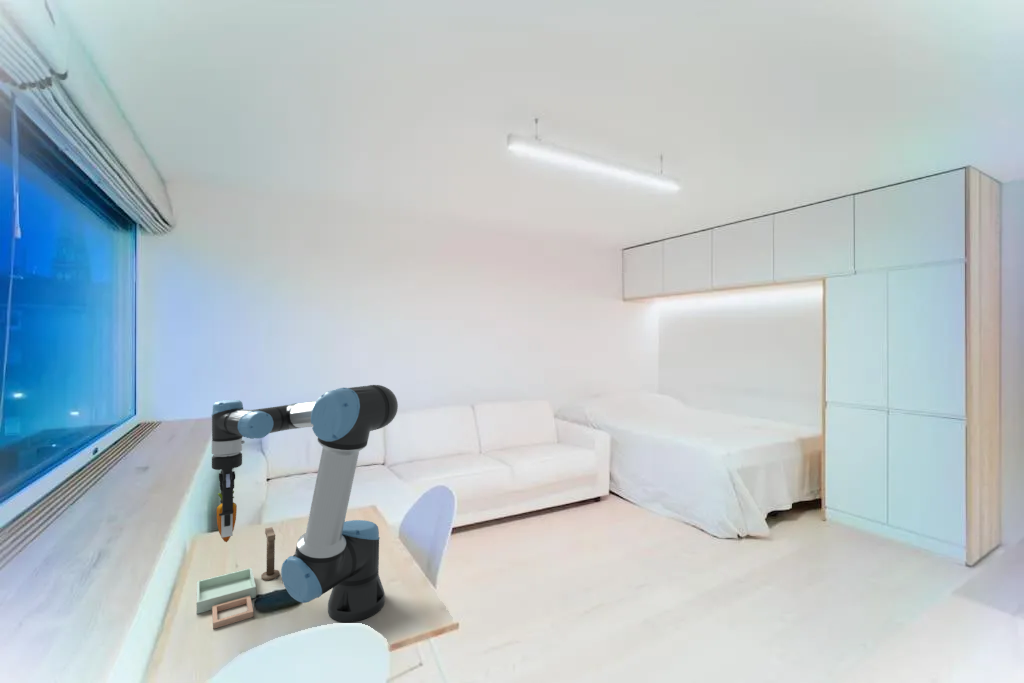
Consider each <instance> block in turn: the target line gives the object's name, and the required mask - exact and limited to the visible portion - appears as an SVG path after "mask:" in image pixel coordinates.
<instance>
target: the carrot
mask: <svg viewBox="0 0 1024 683" xmlns="http://www.w3.org/2000/svg"><path fill="white" fill-rule="evenodd" d="M234 493H235V491H234V490H233V494H234ZM217 496H218V497H219V499H220V500H222V494H221V492H219V493H217ZM233 499H235V496H233ZM237 509H238V508H237V503H235V502H234V503H233V531H234V530H235V526H236V521H237ZM221 513H222V504H221V503H220V504H219V505H218V506H217V507H216V524H217V525H216V526H217V528H218V529H217V530H218V533H219V535H220V536H221V516H219V514H221ZM231 537H232V536H228V537H224V538H221V539H222V540H223V542H225V543H227V542H228V541H230V539H231Z"/></svg>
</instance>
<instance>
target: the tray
mask: <svg viewBox="0 0 1024 683" xmlns="http://www.w3.org/2000/svg"><path fill="white" fill-rule="evenodd" d="M253 572H254V571H253V568H252V567H249V568H245V569H240V570H237V571H233V572H228V573H225V574H221V575H217V576H212V577H209V578H204V579H202V580H197V581H196V615H199V614H202V613H205V612H208V611H212V606H214V605H218V604H221V603H225V602H228V601H232V600H236V599H239V598H243V597H246V596H250V597H251V599H254V598H255V599H256V598H257V594H256V593H257V591H256V589H257V585H256V581H255V577H254V573H253Z"/></svg>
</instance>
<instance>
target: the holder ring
mask: <svg viewBox="0 0 1024 683" xmlns="http://www.w3.org/2000/svg"><path fill="white" fill-rule="evenodd" d="M242 605H246V609H247V611H243V612H240V613H236V614H233V615H230V616H226V617H223V618H219V619H218V612H221V611H225V610H228V609H232V608H235V607H239V606H242ZM211 612H212V615H211V617H212V629H213V630H215V629H218V628H221V627H224V626H229V625H231V624H234V623H237V622H241V621H244V620H248V619H250V618H253V617H254V608H253V604H252V598H251V597H250V596H246V597H243V598H239V599H236V600H232V601H228V602H225V603H221V604H218V605H214V606H212V610H211Z"/></svg>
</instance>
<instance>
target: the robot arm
mask: <svg viewBox="0 0 1024 683" xmlns="http://www.w3.org/2000/svg"><path fill="white" fill-rule="evenodd" d="M398 405H399V404H398V400H397V397H396V395H395V394H394V392H393V391H392V390H391V389H390V388H388V387H387V386H385V385H384V386H383V385H382V384H381V385H380V384H370V385H369V384H368V385H363V386H353V387H352V386H351V387H340V388H339V387H338V388H335V389H332V390H328V391H326V392H324V393H323V394H322V395H320V396H319V397H318V398H317V399H316V400H313V401H307V402H300V403H297V402H296V403H291V404H285V405H284V404H283V405H279V406H273V407H272V406H270V407H264V408H263V407H262V408H257V409H244V406H243V401H242V400H240V399H237V400H236V399H225V400H219V401H216V402H214V403H213V405H212V412H211V437H212V438H211V454H212V456H211V468H212V469H213V470H216V471H220V472H219V473H218V482H219V487H220V488H219V489H220V493H221V494H222V500H221V499H220V500H219V501H220V504H222V513H221V514H219V516H221V535H220V537H221V539H222V538H224V537H228V536H231V537H232V536H233V532H234V530H233V503H235V502H234V498H233V497H234V493H233V491H234V489H235V479H236V471H233V470H234V469H235V468H236V469H237V468H239V467H241V466H242V465H243V453H242V450H243V444H245V440H243V438H246V439H263V438H265V437H267V436H268V435H269V434H273V433H278V432H283V431H288V430H296V429H302V428H311V427H312V431H313V433H314V435H315V436H316V437H317V442H318V444H319V445H320V446H321V447H322V449H321V454H320V458H319V465H318V469H317V474H316V480H315V484H314V490H313V495H312V500H311V506H310V509H309V510H310V511H309V516H308V521H307V525H306V531H305V533H304V534H302V535H301V536H300V537H299V538H298V540H297V542H296V547H295V552H294V554H293V555H290V556H289V557H287V559H285V560H284V561H283V563H282V565H281V570H280V575H281V580H282V584H283V586H284V587H285V589H286V591H287V593H288V595H289V596H290V597H291V598H293V599H294V600H295V601H297V602H298V603H304V604H305V603H309V602H311V601H314V600H315V599H317V598H320V597H321V596H322V595H325V593H327V592H329V591H330V590H331V592H330V595H329V599H328V601H327V602H328V603H327V614H328V615H329V617H330V618H332V619H333V620H334V621H338V622H342V623H349V622H350V623H351V622H359V621H362V620H366V619H369V618H370V617H372V616H374V615H376V614H377V613H378V612H379V611H381V610H382V609H383V607H384V605H385V602H386V601H385V600H386V599H385V598H386V596H385V590H384V587H383V584H382V580H381V578H380V575H379V574H380V573H379V568H380V567H379V564H380V562H379V561H380V560H379V558H380V538H381V537H380V533H379V532H380V531H379V526H378V524H376V523H375V522H373V521H369V520H361V519H353V520H346V516H347V512H348V507H349V503H350V496H351V493H352V487H353V483H354V477H355V473H356V469H357V468H356V467H357V464H358V459H359V454H360V452H361V450H364V449H365V448H366V447H367V446H368V441H369V437H370V433H371V432H373V431H377V430H379V429H383V428H385V427H387V426H388V425H390V423H392V422H393V420H394V419H395V417H396V416H397V413H398V407H399V406H398ZM345 520H346V521H345Z"/></svg>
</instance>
